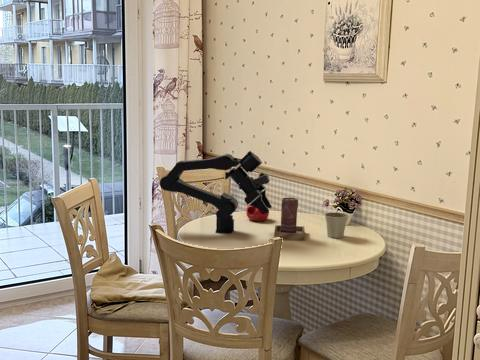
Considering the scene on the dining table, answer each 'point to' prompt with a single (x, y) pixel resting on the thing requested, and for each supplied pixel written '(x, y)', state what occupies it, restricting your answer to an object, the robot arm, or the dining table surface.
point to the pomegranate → (256, 214)
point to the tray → (290, 236)
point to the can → (289, 215)
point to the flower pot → (335, 224)
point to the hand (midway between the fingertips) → (269, 209)
